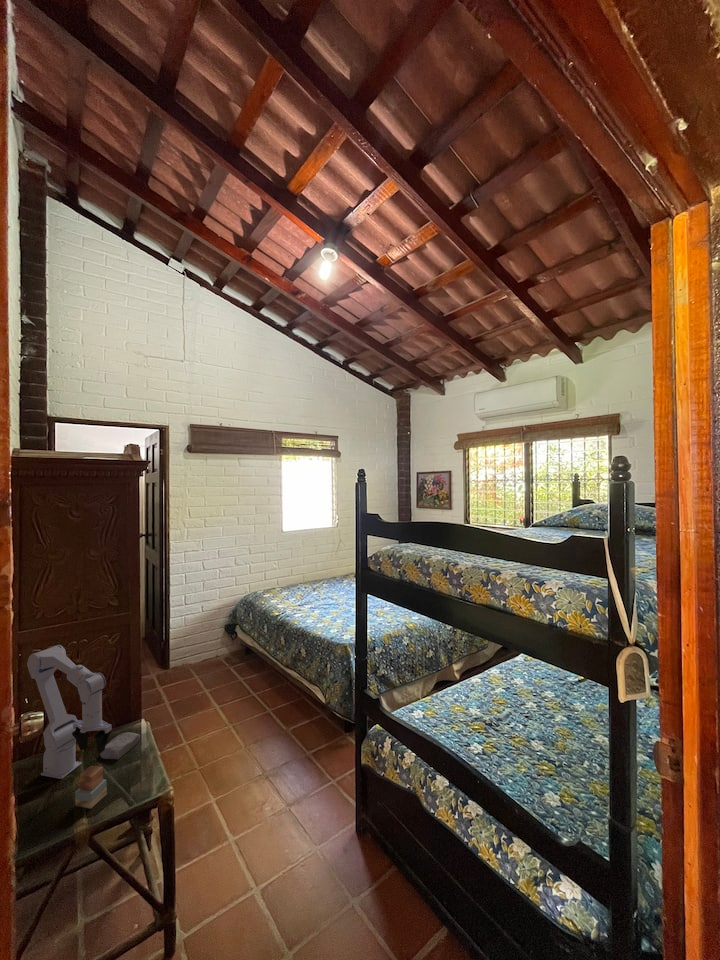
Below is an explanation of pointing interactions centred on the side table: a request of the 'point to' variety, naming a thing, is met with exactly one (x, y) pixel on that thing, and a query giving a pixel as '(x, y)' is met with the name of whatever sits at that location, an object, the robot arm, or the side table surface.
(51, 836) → the side table surface
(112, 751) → the stone block
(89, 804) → the brown block
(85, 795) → the top block
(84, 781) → the terracotta cube
